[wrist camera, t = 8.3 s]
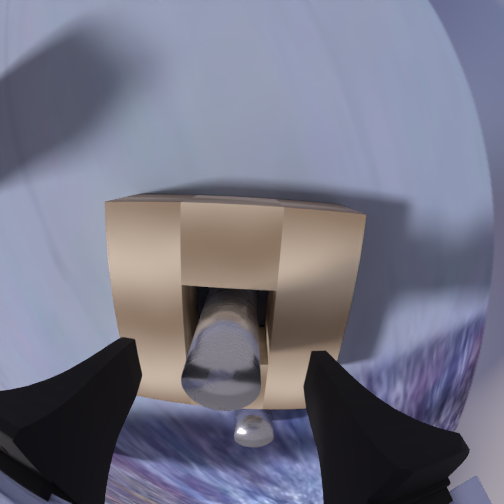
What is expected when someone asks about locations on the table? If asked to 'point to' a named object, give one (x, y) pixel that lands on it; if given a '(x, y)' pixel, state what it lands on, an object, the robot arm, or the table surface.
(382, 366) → the table surface
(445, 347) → the table surface
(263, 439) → the short stub
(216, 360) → the long pin
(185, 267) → the socket block
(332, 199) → the table surface
